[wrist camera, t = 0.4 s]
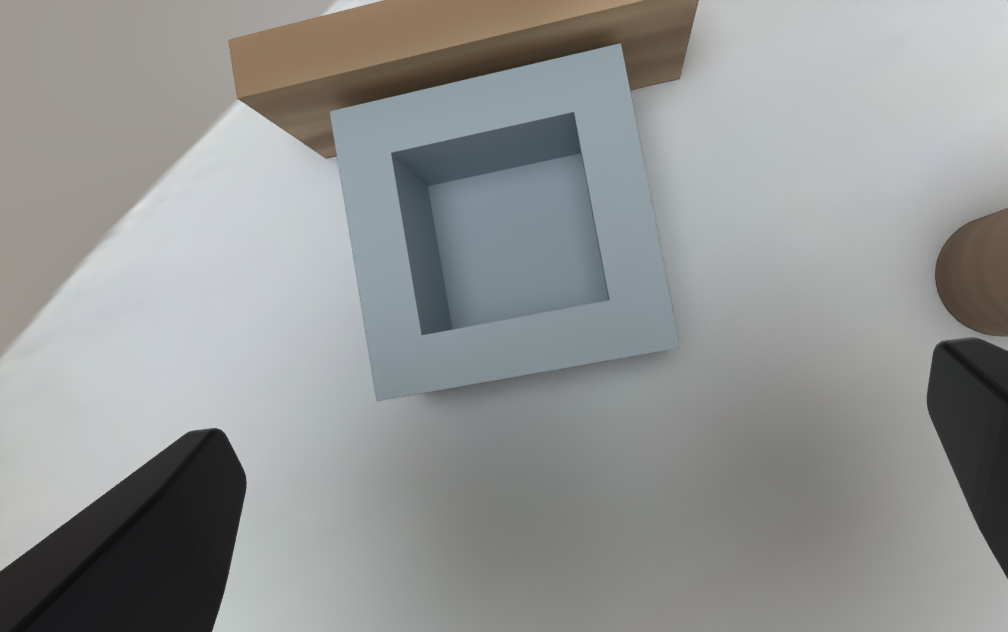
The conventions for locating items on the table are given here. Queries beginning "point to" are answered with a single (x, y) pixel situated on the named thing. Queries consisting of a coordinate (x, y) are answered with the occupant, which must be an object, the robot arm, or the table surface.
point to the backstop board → (440, 51)
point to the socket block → (503, 226)
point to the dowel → (977, 274)
